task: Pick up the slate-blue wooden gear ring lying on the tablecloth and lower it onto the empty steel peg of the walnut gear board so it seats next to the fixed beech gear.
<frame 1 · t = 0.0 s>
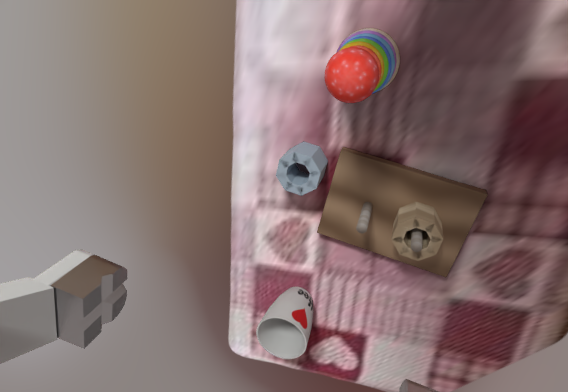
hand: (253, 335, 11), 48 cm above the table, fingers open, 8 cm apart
stacking toy: (368, 61, 53), on the table
gear board: (395, 210, 60), on the table
cup: (298, 298, 72), on the table
loose gear: (306, 162, 61), on the table
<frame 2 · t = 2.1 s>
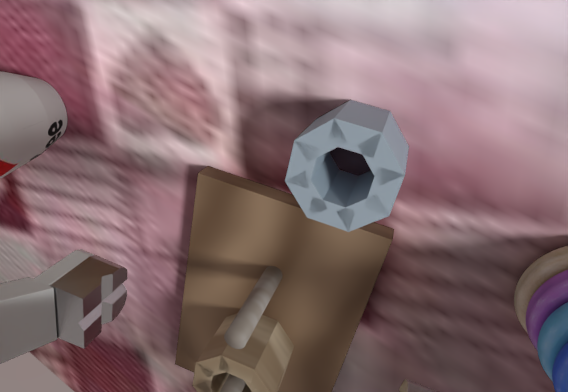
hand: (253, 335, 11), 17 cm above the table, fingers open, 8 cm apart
gear board: (270, 301, 33), on the table
cup: (43, 108, 33), on the table
loose gear: (355, 150, 26), on the table
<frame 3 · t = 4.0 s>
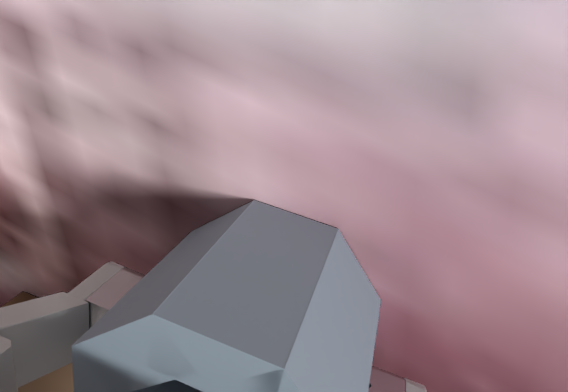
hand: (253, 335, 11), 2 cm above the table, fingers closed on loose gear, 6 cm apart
loose gear: (274, 295, 13), on the table, touching gripper
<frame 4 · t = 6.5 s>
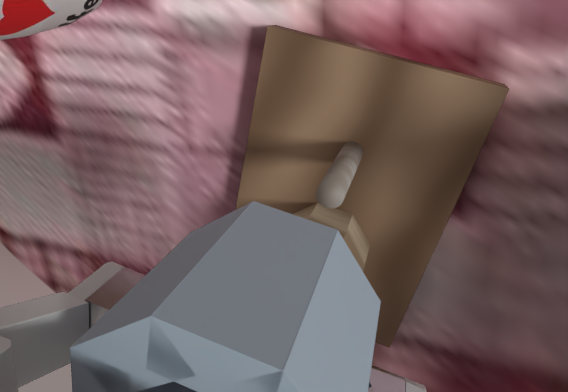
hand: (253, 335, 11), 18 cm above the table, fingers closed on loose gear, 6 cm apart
gear board: (339, 197, 29), on the table
loose gear: (273, 296, 13), point 17 cm above the table, touching gripper
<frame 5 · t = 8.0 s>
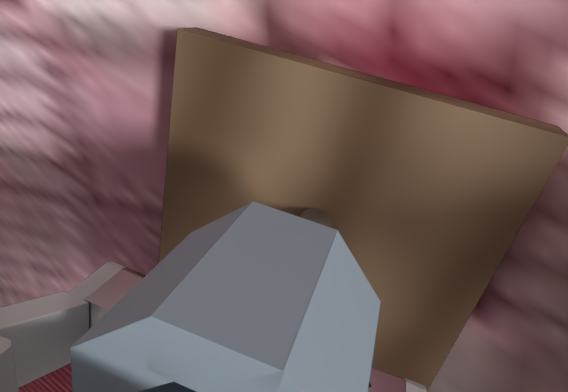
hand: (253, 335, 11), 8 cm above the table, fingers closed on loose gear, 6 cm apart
gear board: (302, 277, 20), on the table
loose gear: (273, 296, 13), point 6 cm above the table, touching gripper
when the fingers open (5 cm above the table, at t = 9.1 s): loose gear drops 2 cm, resting on gear board.
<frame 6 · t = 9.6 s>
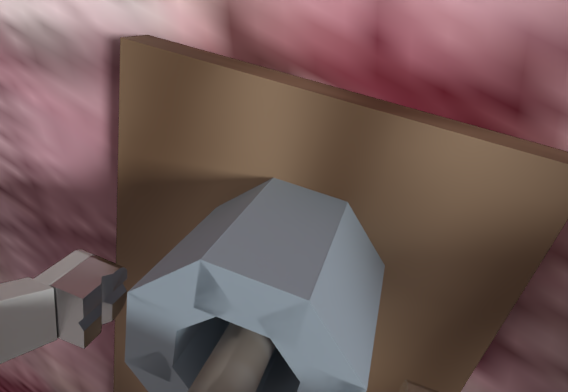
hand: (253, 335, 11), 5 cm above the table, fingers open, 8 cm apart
gear board: (279, 319, 17), on the table
loose gear: (290, 264, 14), point 1 cm above the table, touching gear board
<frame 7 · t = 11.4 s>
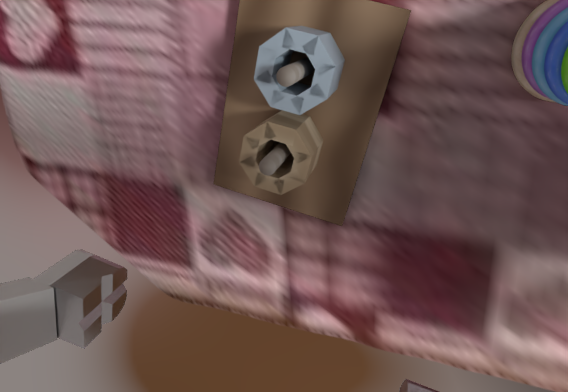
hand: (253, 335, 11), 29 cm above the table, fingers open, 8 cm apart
stacking toy: (566, 46, 31), on the table
gear board: (301, 107, 39), on the table
loose gear: (307, 65, 35), point 1 cm above the table, touching gear board
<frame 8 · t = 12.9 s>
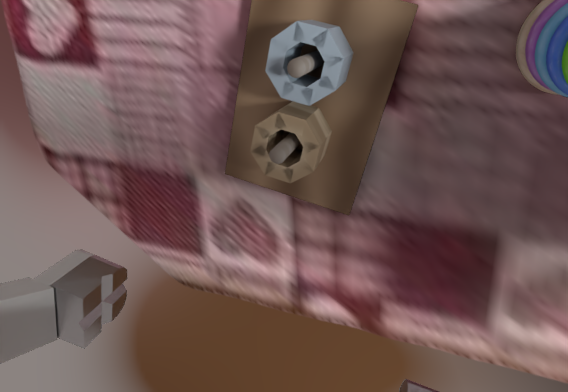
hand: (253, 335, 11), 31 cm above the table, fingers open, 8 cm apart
gear board: (310, 99, 40), on the table
loose gear: (317, 58, 37), point 1 cm above the table, touching gear board
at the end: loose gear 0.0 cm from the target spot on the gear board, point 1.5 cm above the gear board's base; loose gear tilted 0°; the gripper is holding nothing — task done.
